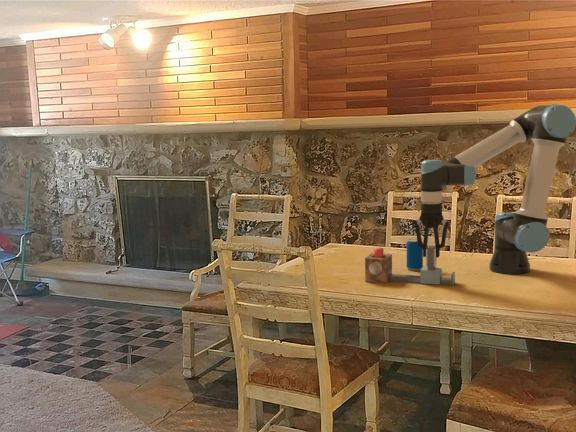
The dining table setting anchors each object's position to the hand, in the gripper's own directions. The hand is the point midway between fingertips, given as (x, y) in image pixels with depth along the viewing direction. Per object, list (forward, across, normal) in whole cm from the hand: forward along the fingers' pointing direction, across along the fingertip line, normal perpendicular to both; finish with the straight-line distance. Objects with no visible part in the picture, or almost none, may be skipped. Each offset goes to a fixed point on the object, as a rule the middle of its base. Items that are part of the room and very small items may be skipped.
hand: (431, 265), depth 227 cm
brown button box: (+6, +20, 0) cm, 21 cm away
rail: (+6, +4, 0) cm, 8 cm away
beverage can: (+7, +10, -20) cm, 23 cm away
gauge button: (0, +20, 0) cm, 20 cm away
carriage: (+6, 0, 0) cm, 6 cm away
